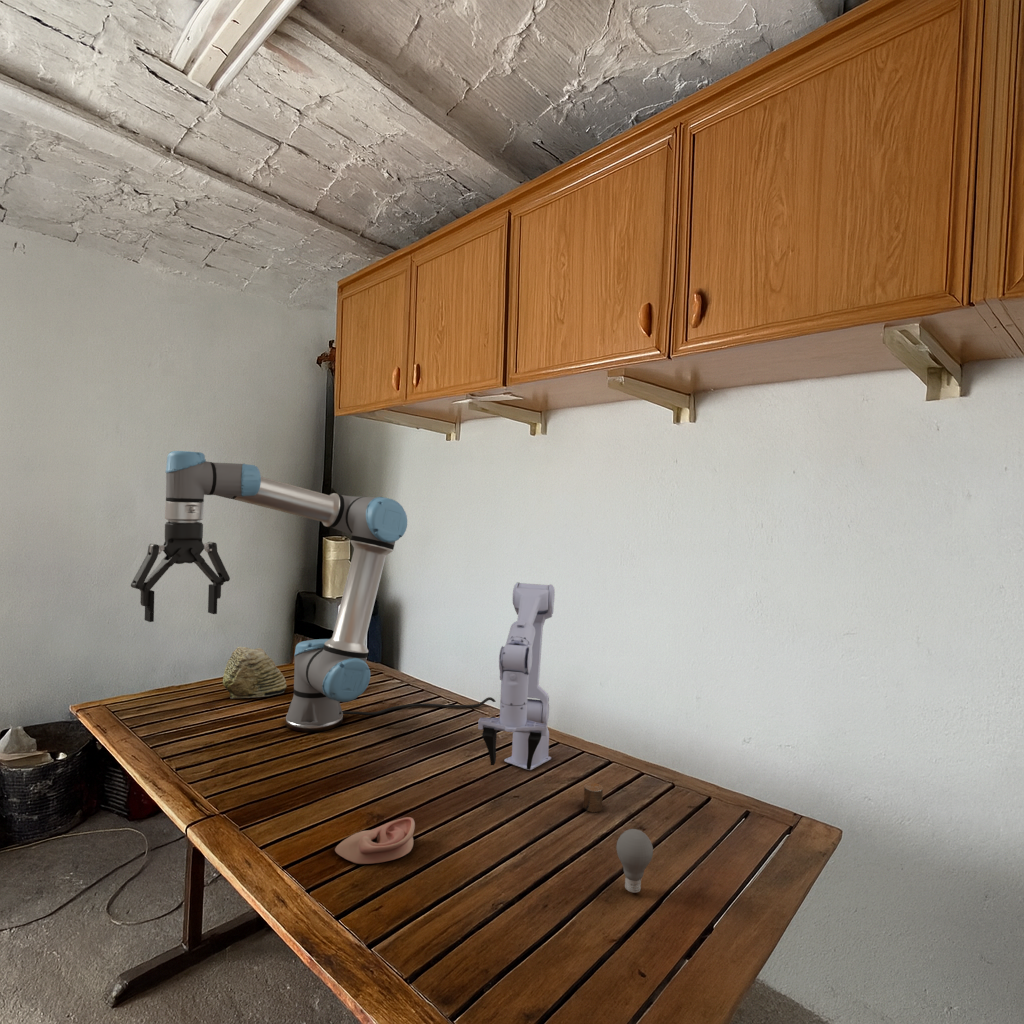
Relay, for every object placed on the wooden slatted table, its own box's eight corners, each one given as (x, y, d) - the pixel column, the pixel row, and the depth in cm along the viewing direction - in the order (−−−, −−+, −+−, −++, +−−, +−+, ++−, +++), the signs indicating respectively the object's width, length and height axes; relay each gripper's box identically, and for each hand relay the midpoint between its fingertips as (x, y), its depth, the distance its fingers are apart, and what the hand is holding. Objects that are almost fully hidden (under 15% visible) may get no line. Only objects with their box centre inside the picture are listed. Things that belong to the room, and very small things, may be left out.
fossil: (218, 695, 195) (220, 647, 195) (278, 685, 208) (279, 640, 207) (228, 703, 189) (230, 653, 188) (289, 692, 201) (290, 645, 201)
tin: (579, 807, 134) (580, 786, 134) (590, 801, 137) (591, 781, 137) (594, 814, 131) (595, 793, 131) (605, 808, 134) (606, 787, 134)
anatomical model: (327, 836, 111) (356, 806, 122) (326, 858, 111) (355, 826, 122) (398, 848, 108) (421, 815, 119) (397, 871, 108) (420, 836, 119)
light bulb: (610, 879, 108) (613, 822, 108) (644, 879, 109) (647, 822, 109) (619, 902, 102) (622, 840, 102) (655, 901, 103) (658, 840, 103)
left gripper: (129, 522, 128) (126, 627, 128) (246, 521, 147) (244, 612, 148) (114, 520, 132) (112, 621, 133) (230, 520, 152) (228, 608, 152)
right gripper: (476, 704, 131) (473, 769, 131) (546, 710, 129) (543, 777, 129) (483, 694, 138) (480, 756, 138) (549, 700, 136) (546, 763, 136)
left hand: (181, 617), depth 140 cm, fingers open, 13 cm apart
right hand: (511, 765), depth 134 cm, fingers open, 7 cm apart
